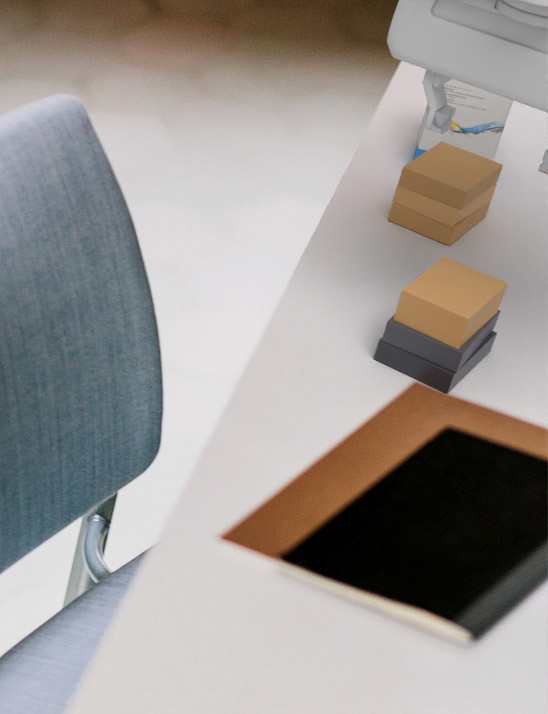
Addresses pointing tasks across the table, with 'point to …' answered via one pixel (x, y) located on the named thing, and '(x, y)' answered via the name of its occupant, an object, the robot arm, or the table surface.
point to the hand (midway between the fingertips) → (492, 150)
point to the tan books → (444, 192)
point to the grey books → (433, 354)
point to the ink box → (469, 121)
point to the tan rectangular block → (450, 302)
